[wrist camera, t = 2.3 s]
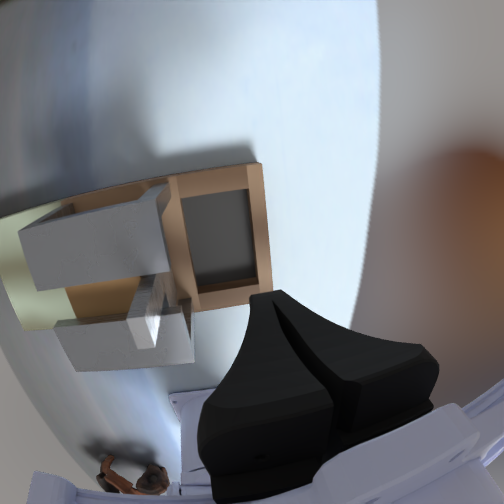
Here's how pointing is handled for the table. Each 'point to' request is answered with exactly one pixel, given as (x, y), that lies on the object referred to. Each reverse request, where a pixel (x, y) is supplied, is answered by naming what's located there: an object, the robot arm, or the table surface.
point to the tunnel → (109, 279)
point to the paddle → (150, 307)
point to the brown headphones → (148, 484)
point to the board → (181, 185)
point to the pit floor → (220, 236)
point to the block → (103, 297)
